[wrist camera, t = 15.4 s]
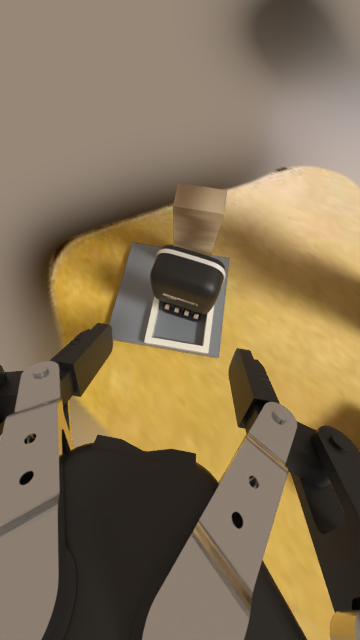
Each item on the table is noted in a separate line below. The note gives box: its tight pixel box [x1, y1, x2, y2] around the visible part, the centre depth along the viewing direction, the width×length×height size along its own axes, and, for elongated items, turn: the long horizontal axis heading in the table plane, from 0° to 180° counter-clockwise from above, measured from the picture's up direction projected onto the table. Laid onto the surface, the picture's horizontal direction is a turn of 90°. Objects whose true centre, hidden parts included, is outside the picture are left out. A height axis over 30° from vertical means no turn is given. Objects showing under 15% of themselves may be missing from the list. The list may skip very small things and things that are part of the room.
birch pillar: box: [173, 183, 227, 257], centre depth 23 cm, size 5×3×11 cm, turn 81°
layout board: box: [109, 242, 229, 358], centre depth 26 cm, size 16×16×2 cm
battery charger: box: [150, 245, 226, 322], centre depth 20 cm, size 7×4×11 cm, turn 72°
